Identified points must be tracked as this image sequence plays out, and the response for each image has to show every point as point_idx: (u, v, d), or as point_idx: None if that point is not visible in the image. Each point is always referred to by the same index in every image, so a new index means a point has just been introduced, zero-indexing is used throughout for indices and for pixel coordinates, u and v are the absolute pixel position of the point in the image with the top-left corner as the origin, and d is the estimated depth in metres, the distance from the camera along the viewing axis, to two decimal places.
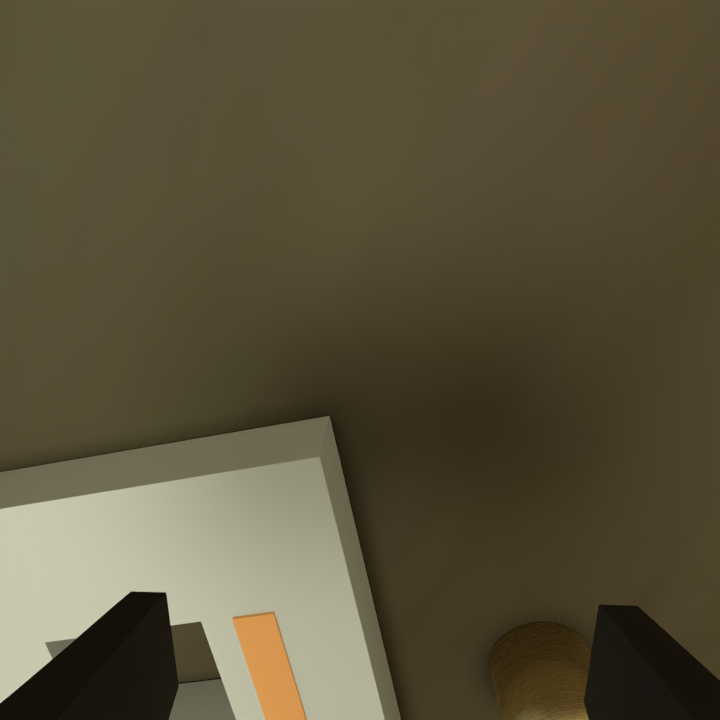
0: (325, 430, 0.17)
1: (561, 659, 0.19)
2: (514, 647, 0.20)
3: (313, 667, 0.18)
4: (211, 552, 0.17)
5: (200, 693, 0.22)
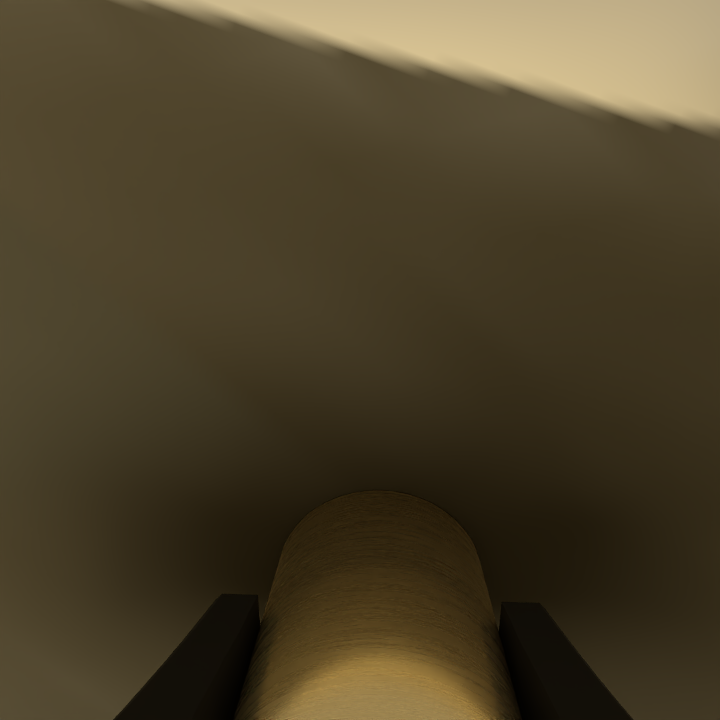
0: None
1: (261, 623, 0.09)
2: None
3: None
4: None
5: None
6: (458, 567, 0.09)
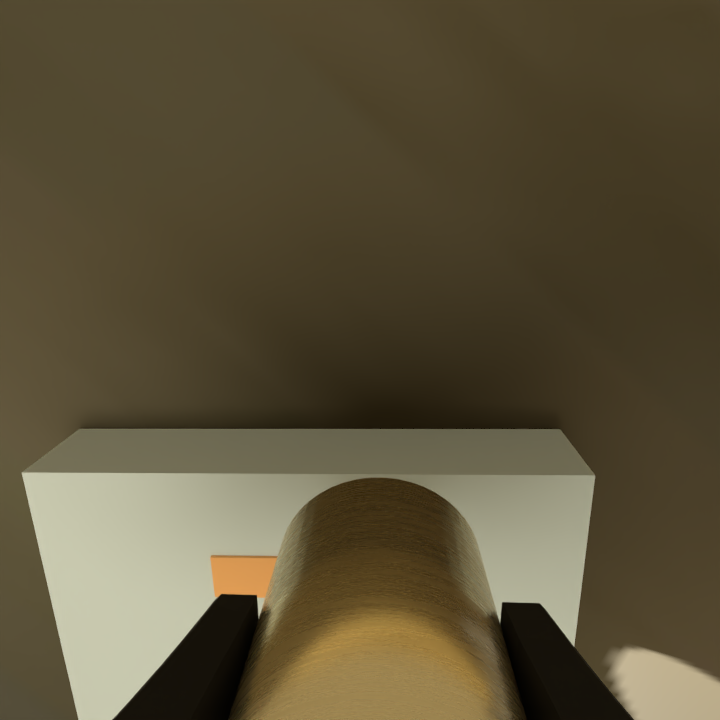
0: (59, 444, 0.17)
1: (263, 604, 0.09)
2: None
3: None
4: (134, 593, 0.16)
5: None
6: (460, 552, 0.09)
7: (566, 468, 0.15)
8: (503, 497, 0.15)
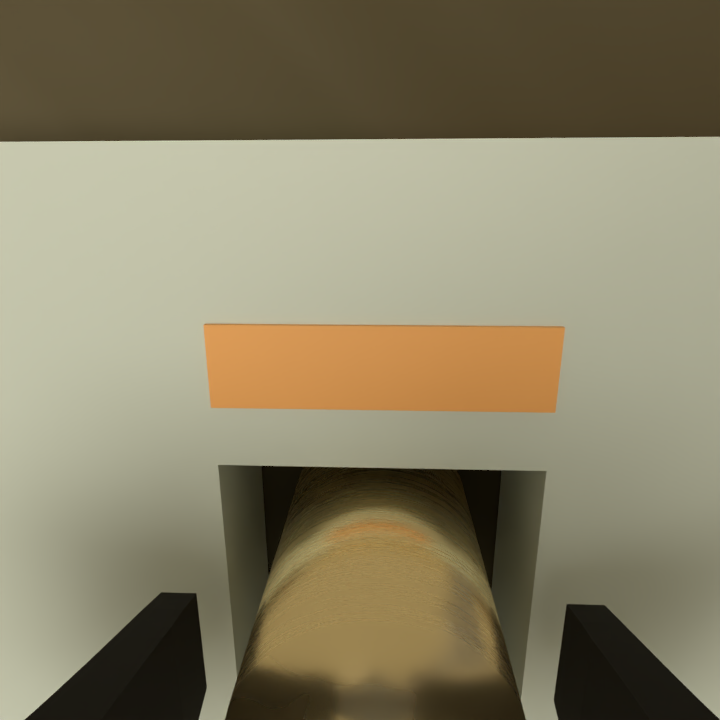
0: None
1: (287, 518, 0.11)
2: None
3: (360, 276, 0.08)
4: (65, 403, 0.09)
5: (504, 519, 0.12)
6: (446, 479, 0.11)
7: None
8: None
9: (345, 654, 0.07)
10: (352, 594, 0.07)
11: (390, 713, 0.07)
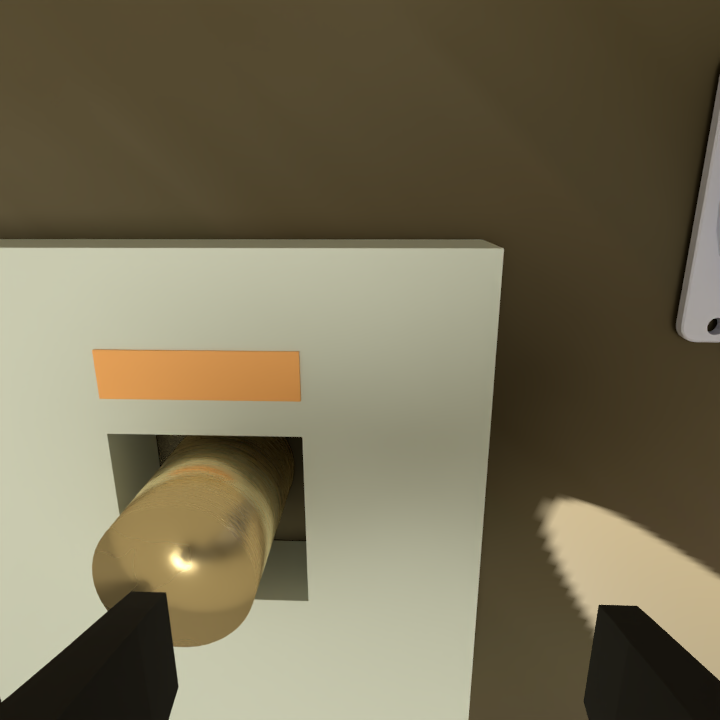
0: None
1: None
2: None
3: (180, 322, 0.14)
4: (13, 396, 0.15)
5: None
6: (264, 445, 0.17)
7: (475, 247, 0.14)
8: (405, 275, 0.13)
9: (150, 524, 0.12)
10: (160, 496, 0.13)
11: (178, 558, 0.13)
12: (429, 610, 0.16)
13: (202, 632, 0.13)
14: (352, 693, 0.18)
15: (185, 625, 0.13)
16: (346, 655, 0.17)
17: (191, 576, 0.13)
